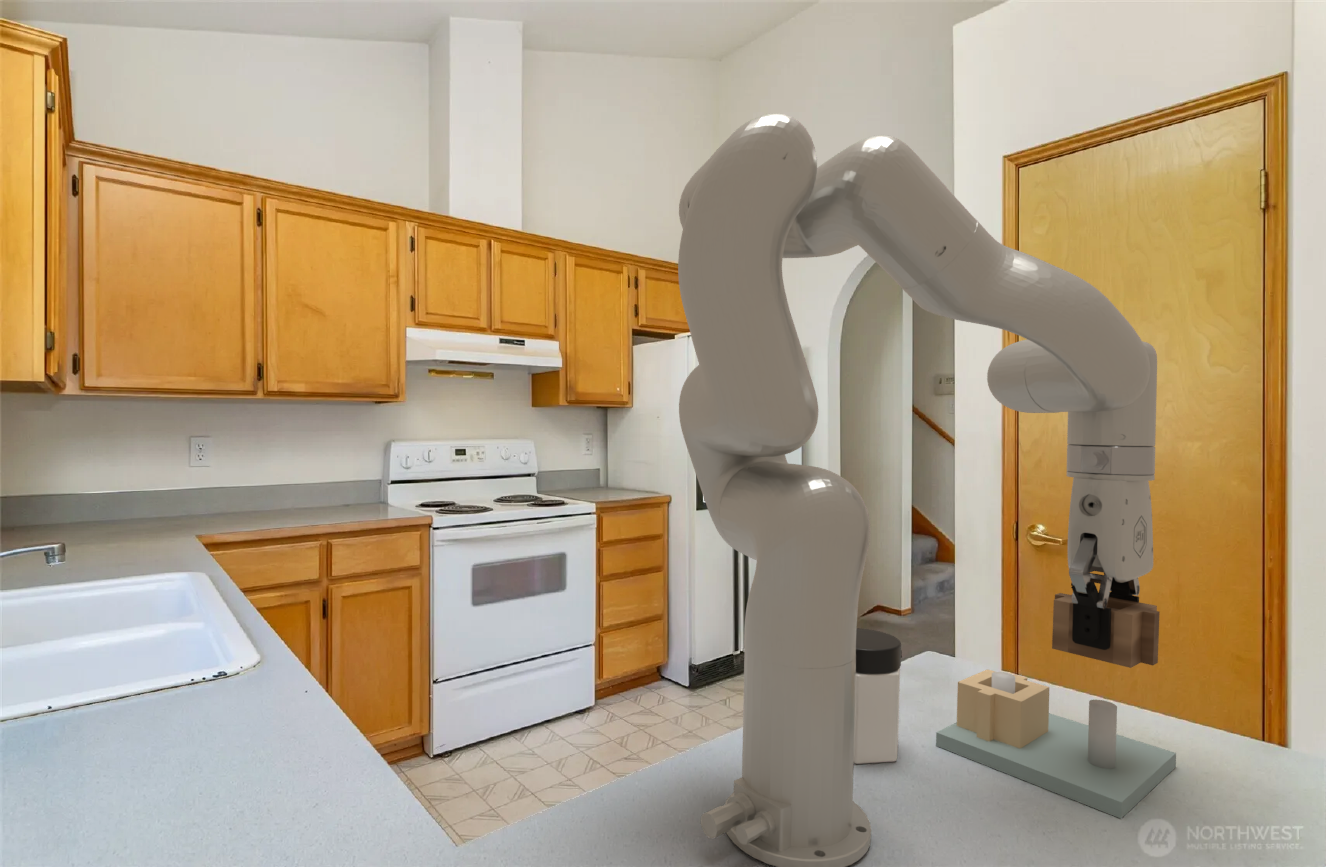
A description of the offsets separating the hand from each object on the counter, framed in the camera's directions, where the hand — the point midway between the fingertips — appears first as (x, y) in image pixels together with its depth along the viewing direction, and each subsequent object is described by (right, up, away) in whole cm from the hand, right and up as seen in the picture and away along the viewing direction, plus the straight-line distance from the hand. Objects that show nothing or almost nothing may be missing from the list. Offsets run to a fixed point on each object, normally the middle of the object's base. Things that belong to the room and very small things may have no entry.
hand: (1105, 637), depth 71 cm
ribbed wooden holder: (0, -1, 0) cm, 1 cm away
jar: (-23, -14, +6) cm, 28 cm away
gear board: (-3, -14, +5) cm, 15 cm away
